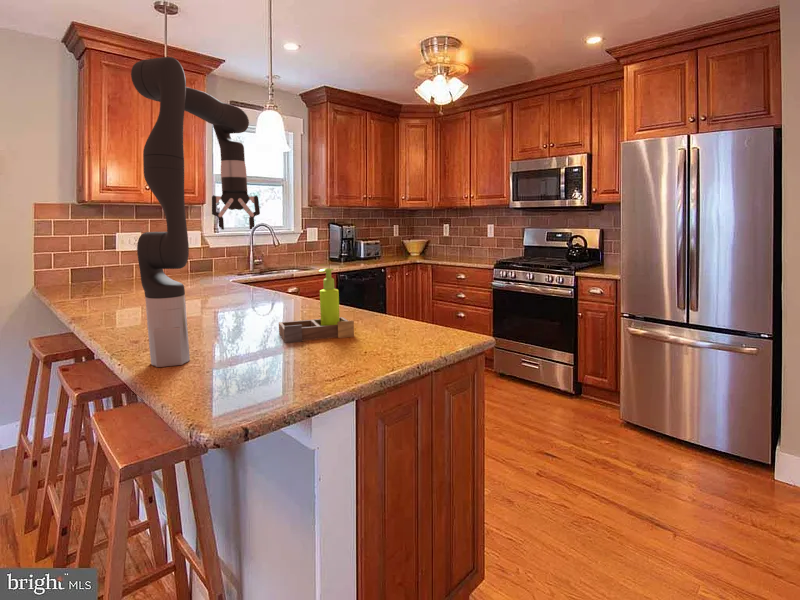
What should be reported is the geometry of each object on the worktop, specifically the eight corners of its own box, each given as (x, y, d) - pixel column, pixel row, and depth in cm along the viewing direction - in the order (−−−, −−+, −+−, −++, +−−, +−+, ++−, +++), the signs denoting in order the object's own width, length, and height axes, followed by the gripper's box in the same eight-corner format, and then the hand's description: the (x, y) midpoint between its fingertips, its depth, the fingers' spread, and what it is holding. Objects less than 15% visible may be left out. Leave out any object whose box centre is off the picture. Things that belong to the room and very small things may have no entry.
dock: (354, 336, 160) (353, 320, 159) (285, 343, 152) (284, 326, 152) (343, 328, 172) (343, 313, 171) (279, 334, 165) (278, 318, 164)
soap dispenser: (315, 332, 162) (312, 269, 159) (328, 328, 168) (326, 267, 165) (330, 334, 160) (328, 269, 156) (343, 329, 166) (341, 267, 162)
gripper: (209, 175, 154) (213, 230, 157) (258, 176, 159) (261, 229, 162) (209, 177, 161) (212, 229, 164) (256, 177, 166) (259, 228, 169)
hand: (237, 229), depth 163 cm, fingers open, 8 cm apart
